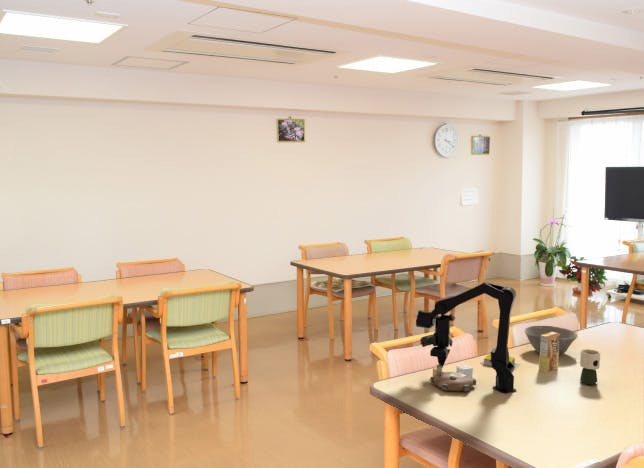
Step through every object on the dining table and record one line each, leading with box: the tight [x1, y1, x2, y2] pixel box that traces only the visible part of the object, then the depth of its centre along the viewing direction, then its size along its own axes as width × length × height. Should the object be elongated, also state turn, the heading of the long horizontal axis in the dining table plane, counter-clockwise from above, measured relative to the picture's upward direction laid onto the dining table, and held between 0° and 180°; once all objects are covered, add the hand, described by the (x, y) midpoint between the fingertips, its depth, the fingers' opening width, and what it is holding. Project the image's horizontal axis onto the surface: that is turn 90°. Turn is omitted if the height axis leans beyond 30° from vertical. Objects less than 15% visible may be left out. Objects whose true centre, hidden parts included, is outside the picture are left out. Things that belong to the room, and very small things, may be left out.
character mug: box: [579, 348, 601, 386], centre depth 241 cm, size 11×7×13 cm, turn 135°
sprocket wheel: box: [430, 364, 477, 392], centre depth 236 cm, size 17×16×6 cm
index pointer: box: [432, 367, 437, 377], centre depth 246 cm, size 2×2×4 cm
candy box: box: [538, 332, 560, 373], centre depth 257 cm, size 9×4×15 cm, turn 129°
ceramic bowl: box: [524, 325, 578, 355], centre depth 281 cm, size 22×23×10 cm
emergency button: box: [480, 352, 521, 371], centre depth 264 cm, size 9×4×15 cm
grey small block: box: [455, 364, 474, 378], centre depth 248 cm, size 4×5×4 cm
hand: (441, 367), depth 244 cm, fingers closed
